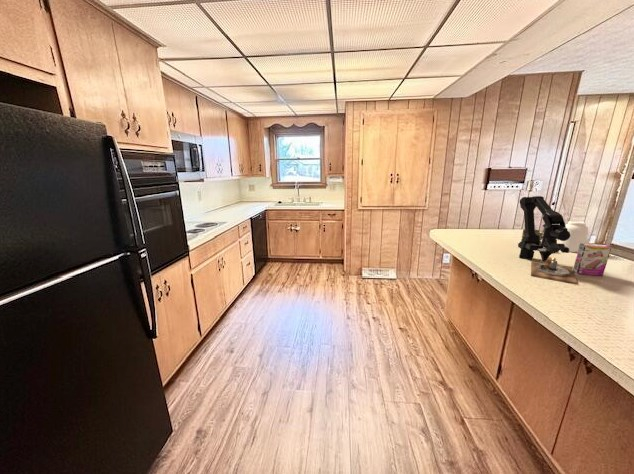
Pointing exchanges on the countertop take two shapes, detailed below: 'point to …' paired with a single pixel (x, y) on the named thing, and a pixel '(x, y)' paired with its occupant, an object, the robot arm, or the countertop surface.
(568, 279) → the walnut board
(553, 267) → the post
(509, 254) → the countertop surface
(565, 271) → the flange plate
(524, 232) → the olive green cube
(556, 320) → the countertop surface
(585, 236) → the white container
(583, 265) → the candy bar box
